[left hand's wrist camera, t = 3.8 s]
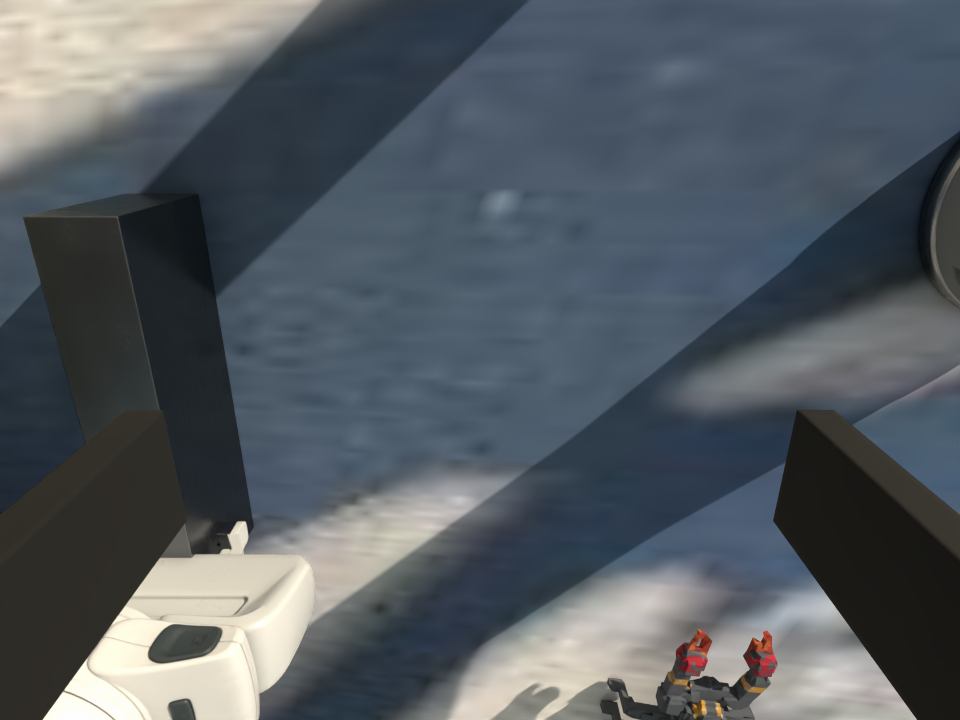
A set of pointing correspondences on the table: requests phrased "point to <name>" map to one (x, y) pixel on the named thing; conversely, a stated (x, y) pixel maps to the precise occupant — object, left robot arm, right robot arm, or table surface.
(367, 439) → the table surface
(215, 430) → the bar
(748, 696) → the toy
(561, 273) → the table surface
